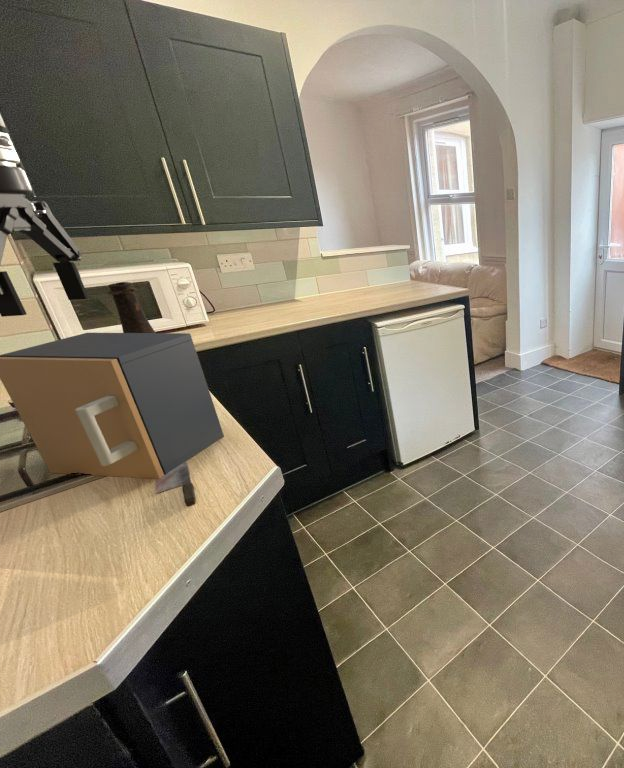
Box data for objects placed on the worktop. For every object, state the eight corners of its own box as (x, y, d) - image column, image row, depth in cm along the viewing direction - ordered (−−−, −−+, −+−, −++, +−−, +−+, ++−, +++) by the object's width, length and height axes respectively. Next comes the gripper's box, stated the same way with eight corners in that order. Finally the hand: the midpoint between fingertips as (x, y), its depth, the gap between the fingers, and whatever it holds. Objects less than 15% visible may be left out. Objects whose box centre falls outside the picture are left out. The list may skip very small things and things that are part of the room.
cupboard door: (131, 497, 69) (74, 372, 60) (15, 490, 72) (-55, 370, 63) (164, 475, 75) (116, 358, 66) (56, 469, 77) (-3, 356, 69)
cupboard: (166, 475, 75) (118, 357, 66) (58, 469, 78) (-2, 355, 69) (224, 436, 88) (190, 333, 79) (130, 432, 90) (87, 332, 82)
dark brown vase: (213, 378, 120) (181, 278, 109) (141, 402, 105) (95, 290, 95) (176, 370, 127) (143, 276, 117) (104, 392, 112) (58, 286, 102)
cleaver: (154, 469, 76) (188, 459, 79) (156, 475, 76) (190, 464, 79) (155, 512, 64) (195, 498, 67) (158, 517, 64) (197, 503, 67)
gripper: (-72, 154, 52) (11, 322, 60) (76, 172, 74) (122, 292, 82) (-149, 154, 50) (-54, 326, 58) (26, 172, 73) (77, 294, 81)
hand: (49, 306), depth 70 cm, fingers open, 13 cm apart
